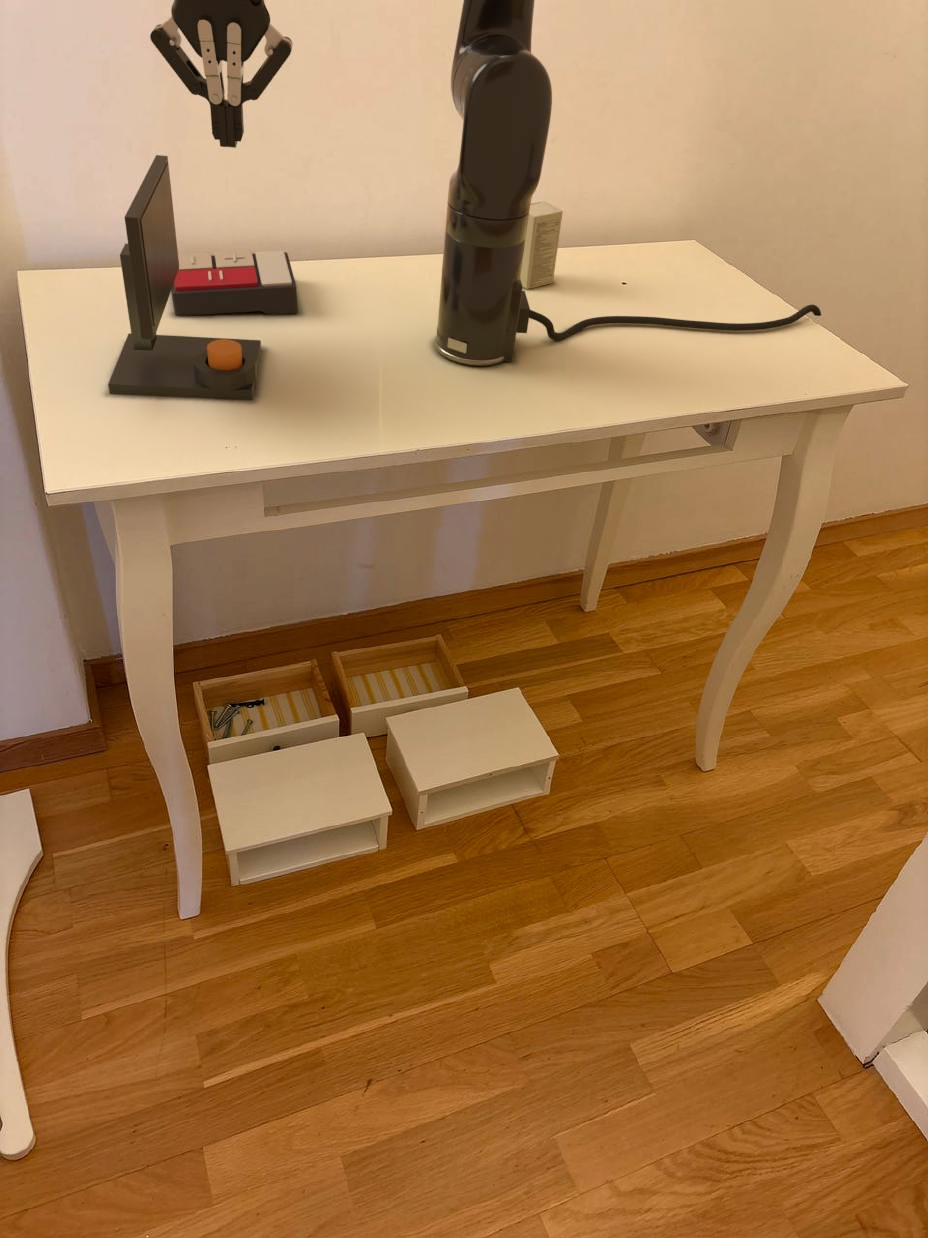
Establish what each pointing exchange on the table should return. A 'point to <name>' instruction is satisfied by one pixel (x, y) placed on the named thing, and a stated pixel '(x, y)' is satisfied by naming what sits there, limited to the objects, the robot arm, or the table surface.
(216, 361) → the power button
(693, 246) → the table surface
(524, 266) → the cream printed box
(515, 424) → the table surface
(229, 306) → the calculator
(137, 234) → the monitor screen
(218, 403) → the table surface
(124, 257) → the monitor stand
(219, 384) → the monitor base
